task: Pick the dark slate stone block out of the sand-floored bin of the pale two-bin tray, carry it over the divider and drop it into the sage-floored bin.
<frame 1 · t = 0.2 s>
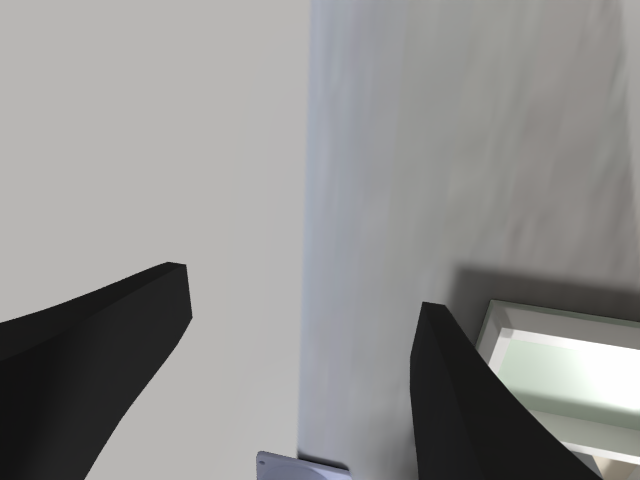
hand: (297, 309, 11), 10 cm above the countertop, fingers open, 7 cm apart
two-bin tray: (557, 411, 23), on the countertop
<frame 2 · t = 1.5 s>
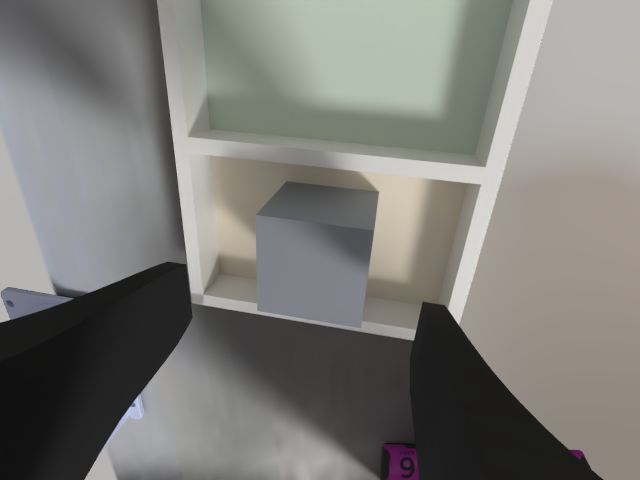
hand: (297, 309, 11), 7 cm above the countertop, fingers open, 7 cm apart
slate block: (328, 229, 16), point 1 cm above the countertop, touching two-bin tray
candy bar box: (474, 464, 22), on the countertop
two-bin tray: (337, 145, 15), on the countertop
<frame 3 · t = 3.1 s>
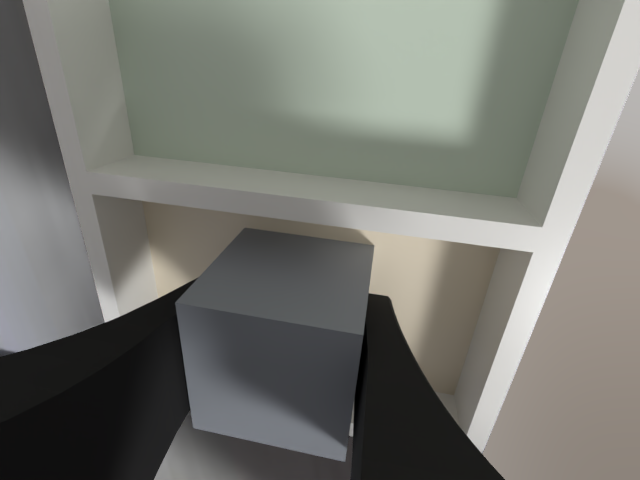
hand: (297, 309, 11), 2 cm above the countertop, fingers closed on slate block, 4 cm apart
slate block: (305, 291, 12), point 1 cm above the countertop, touching gripper, two-bin tray
two-bin tray: (314, 179, 11), on the countertop
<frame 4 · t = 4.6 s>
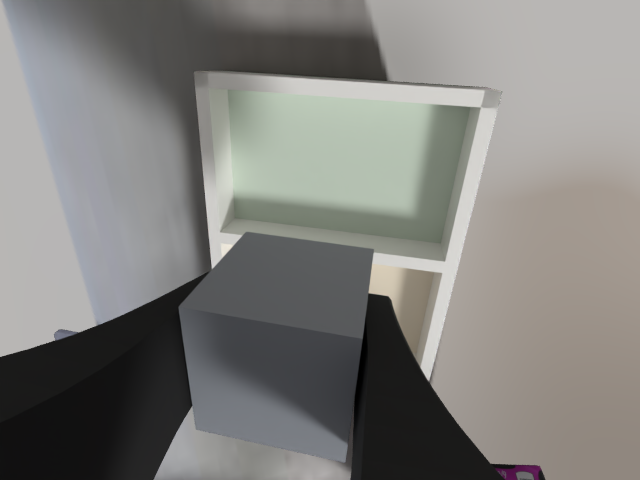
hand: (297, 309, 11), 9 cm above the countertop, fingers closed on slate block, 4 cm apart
slate block: (305, 294, 12), point 8 cm above the countertop, touching gripper
candy bar box: (453, 476, 27), on the countertop
two-bin tray: (334, 230, 20), on the countertop
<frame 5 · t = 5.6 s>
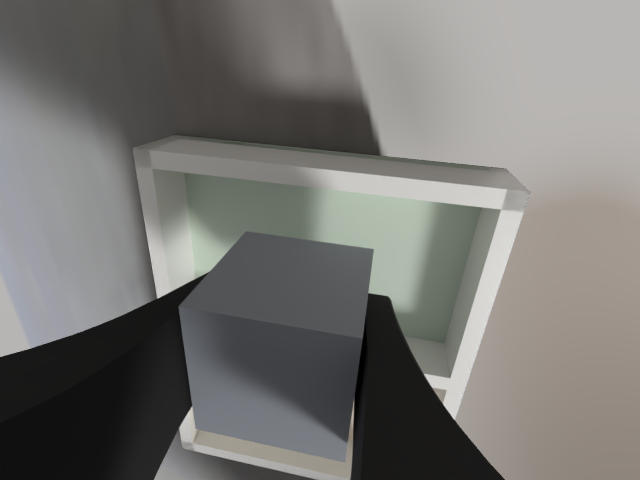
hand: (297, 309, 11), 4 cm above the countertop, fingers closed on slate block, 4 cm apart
slate block: (305, 294, 12), point 3 cm above the countertop, touching gripper
two-bin tray: (317, 318, 16), on the countertop
when the fingers open (3 cm above the countertop, at t = 6.2 s): slate block drops 2 cm, resting on two-bin tray.
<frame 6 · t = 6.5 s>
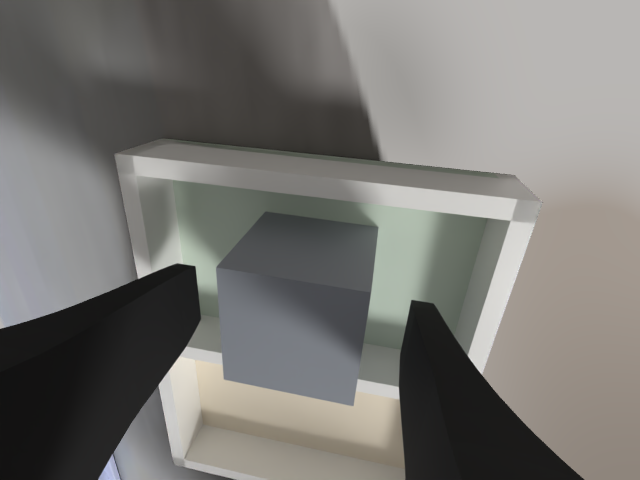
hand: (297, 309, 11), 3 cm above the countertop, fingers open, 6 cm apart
slate block: (317, 268, 14), point 1 cm above the countertop, touching two-bin tray
two-bin tray: (314, 330, 16), on the countertop
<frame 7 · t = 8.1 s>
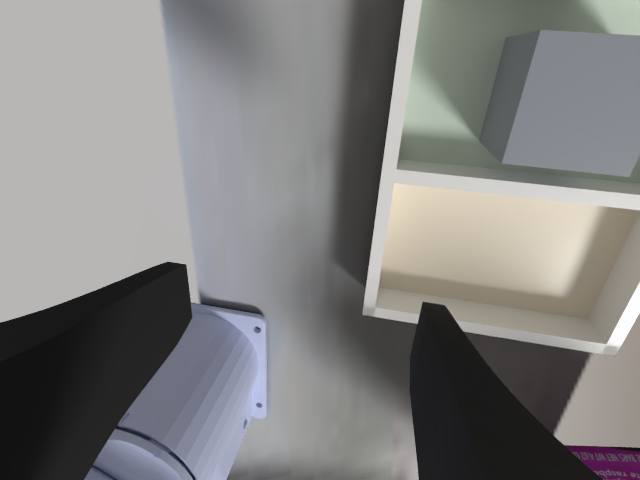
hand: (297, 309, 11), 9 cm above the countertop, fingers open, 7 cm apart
slate block: (542, 96, 15), point 1 cm above the countertop, touching two-bin tray
candy bar box: (590, 462, 24), on the countertop
two-bin tray: (512, 174, 17), on the countertop
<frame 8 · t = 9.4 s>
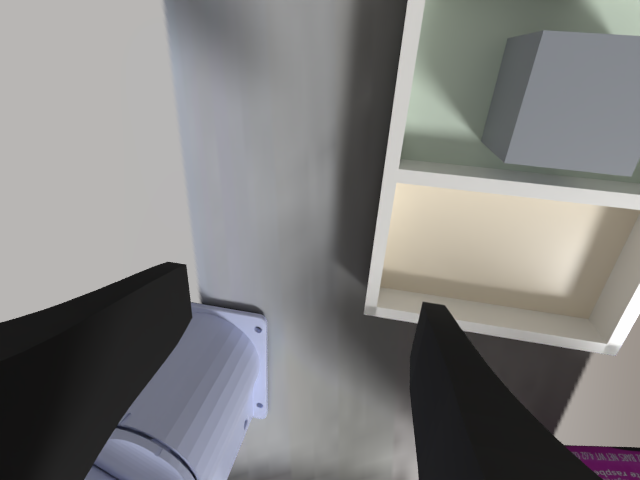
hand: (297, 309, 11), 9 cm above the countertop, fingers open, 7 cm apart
slate block: (544, 96, 15), point 1 cm above the countertop, touching two-bin tray
candy bar box: (590, 462, 24), on the countertop
two-bin tray: (514, 174, 17), on the countertop
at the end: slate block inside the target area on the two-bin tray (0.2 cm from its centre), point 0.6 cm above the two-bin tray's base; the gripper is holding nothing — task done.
